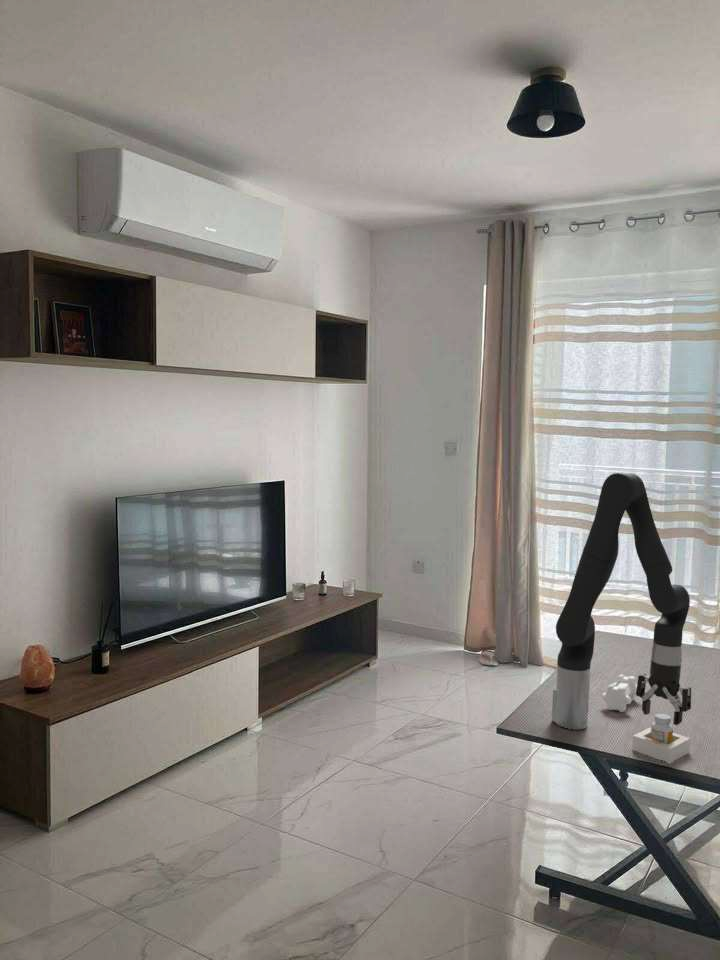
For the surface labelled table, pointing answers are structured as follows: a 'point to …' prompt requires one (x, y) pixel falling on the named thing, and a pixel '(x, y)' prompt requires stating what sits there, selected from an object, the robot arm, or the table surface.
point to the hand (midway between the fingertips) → (661, 719)
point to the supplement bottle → (662, 729)
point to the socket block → (661, 746)
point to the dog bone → (620, 693)
